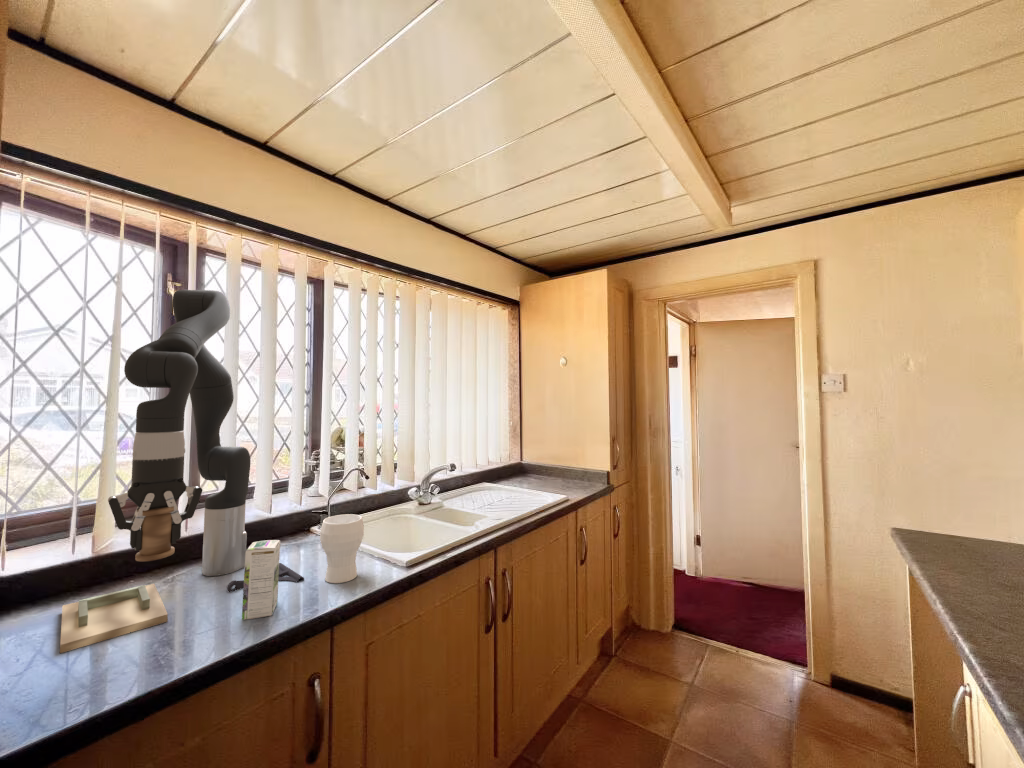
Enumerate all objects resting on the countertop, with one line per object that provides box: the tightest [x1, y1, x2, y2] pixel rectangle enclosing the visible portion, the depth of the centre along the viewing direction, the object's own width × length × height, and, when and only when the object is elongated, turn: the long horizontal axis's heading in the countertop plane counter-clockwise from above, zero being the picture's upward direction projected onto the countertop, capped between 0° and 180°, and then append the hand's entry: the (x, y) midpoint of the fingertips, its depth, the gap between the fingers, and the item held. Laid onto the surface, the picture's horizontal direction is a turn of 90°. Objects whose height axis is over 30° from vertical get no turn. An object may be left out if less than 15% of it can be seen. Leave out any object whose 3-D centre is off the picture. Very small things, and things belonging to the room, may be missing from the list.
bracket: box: [226, 562, 305, 593], centre depth 104 cm, size 14×15×3 cm
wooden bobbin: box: [134, 506, 176, 562], centre depth 78 cm, size 6×6×9 cm
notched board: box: [59, 583, 169, 654], centre depth 87 cm, size 15×21×4 cm
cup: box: [319, 513, 365, 584], centre depth 107 cm, size 11×11×15 cm
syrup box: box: [241, 539, 281, 621], centre depth 89 cm, size 6×6×14 cm
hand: (155, 545), depth 77 cm, fingers closed on wooden bobbin, 4 cm apart
